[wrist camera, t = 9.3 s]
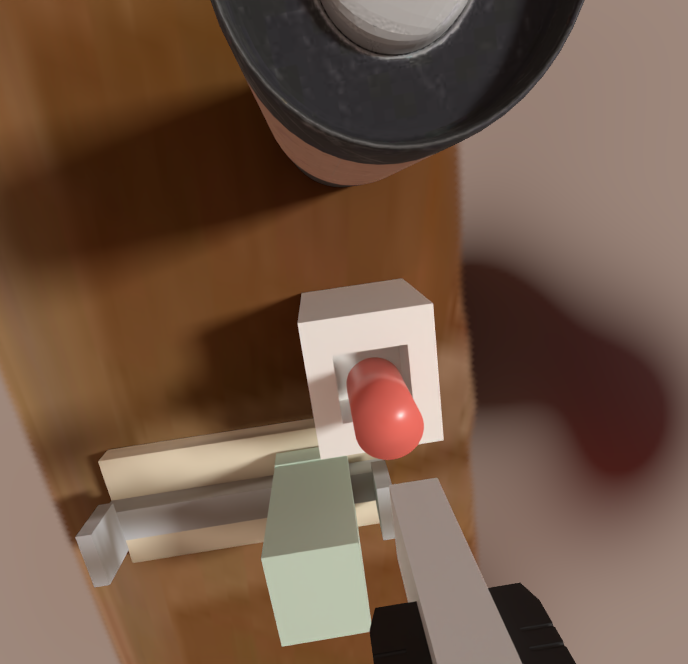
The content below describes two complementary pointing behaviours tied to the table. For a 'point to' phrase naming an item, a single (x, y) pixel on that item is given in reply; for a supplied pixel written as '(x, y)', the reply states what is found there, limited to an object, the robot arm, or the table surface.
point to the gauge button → (383, 410)
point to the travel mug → (388, 74)
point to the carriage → (314, 550)
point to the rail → (207, 470)
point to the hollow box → (367, 354)
